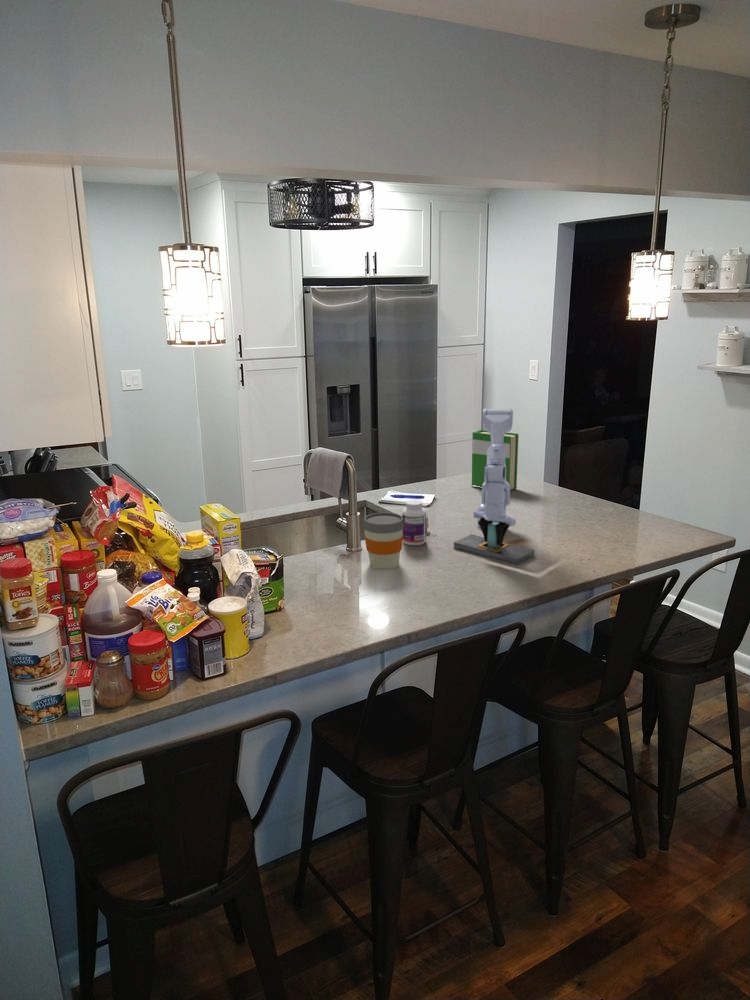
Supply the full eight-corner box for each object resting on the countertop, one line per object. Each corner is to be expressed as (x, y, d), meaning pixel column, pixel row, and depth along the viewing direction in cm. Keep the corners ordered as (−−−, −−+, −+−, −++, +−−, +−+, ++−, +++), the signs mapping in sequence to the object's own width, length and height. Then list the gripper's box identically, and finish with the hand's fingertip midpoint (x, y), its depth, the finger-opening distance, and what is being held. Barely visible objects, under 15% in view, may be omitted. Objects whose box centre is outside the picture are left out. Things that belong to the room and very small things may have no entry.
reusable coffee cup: (370, 573, 216) (369, 526, 212) (360, 559, 228) (358, 514, 223) (409, 568, 219) (409, 522, 215) (397, 554, 231) (397, 510, 226)
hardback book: (516, 489, 303) (518, 433, 296) (508, 493, 297) (510, 436, 291) (480, 483, 313) (481, 429, 307) (471, 487, 308) (472, 432, 301)
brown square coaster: (497, 544, 238) (498, 541, 237) (510, 538, 243) (510, 535, 243) (518, 549, 233) (518, 547, 232) (531, 543, 238) (531, 540, 238)
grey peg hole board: (453, 550, 233) (453, 541, 232) (471, 542, 240) (471, 533, 239) (517, 568, 217) (517, 557, 217) (534, 558, 225) (534, 549, 224)
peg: (484, 548, 228) (485, 525, 226) (491, 545, 231) (492, 522, 229) (495, 551, 225) (496, 527, 223) (502, 548, 228) (502, 524, 226)
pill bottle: (409, 537, 247) (409, 497, 243) (430, 541, 243) (430, 500, 239) (398, 544, 240) (397, 503, 236) (419, 548, 236) (419, 506, 232)
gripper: (468, 500, 226) (467, 541, 230) (507, 509, 216) (506, 551, 220) (480, 496, 231) (480, 535, 235) (519, 503, 221) (518, 545, 225)
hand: (493, 542), depth 228 cm, fingers closed on peg, 4 cm apart
